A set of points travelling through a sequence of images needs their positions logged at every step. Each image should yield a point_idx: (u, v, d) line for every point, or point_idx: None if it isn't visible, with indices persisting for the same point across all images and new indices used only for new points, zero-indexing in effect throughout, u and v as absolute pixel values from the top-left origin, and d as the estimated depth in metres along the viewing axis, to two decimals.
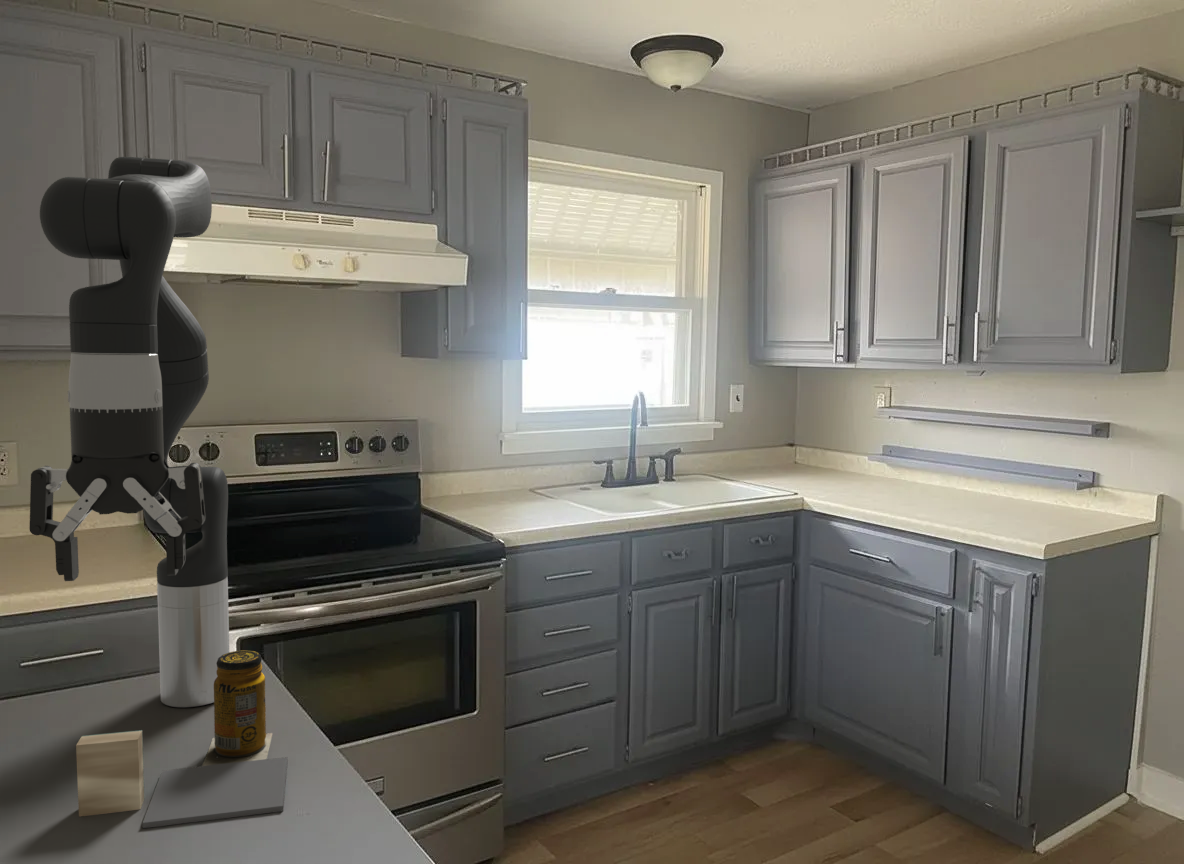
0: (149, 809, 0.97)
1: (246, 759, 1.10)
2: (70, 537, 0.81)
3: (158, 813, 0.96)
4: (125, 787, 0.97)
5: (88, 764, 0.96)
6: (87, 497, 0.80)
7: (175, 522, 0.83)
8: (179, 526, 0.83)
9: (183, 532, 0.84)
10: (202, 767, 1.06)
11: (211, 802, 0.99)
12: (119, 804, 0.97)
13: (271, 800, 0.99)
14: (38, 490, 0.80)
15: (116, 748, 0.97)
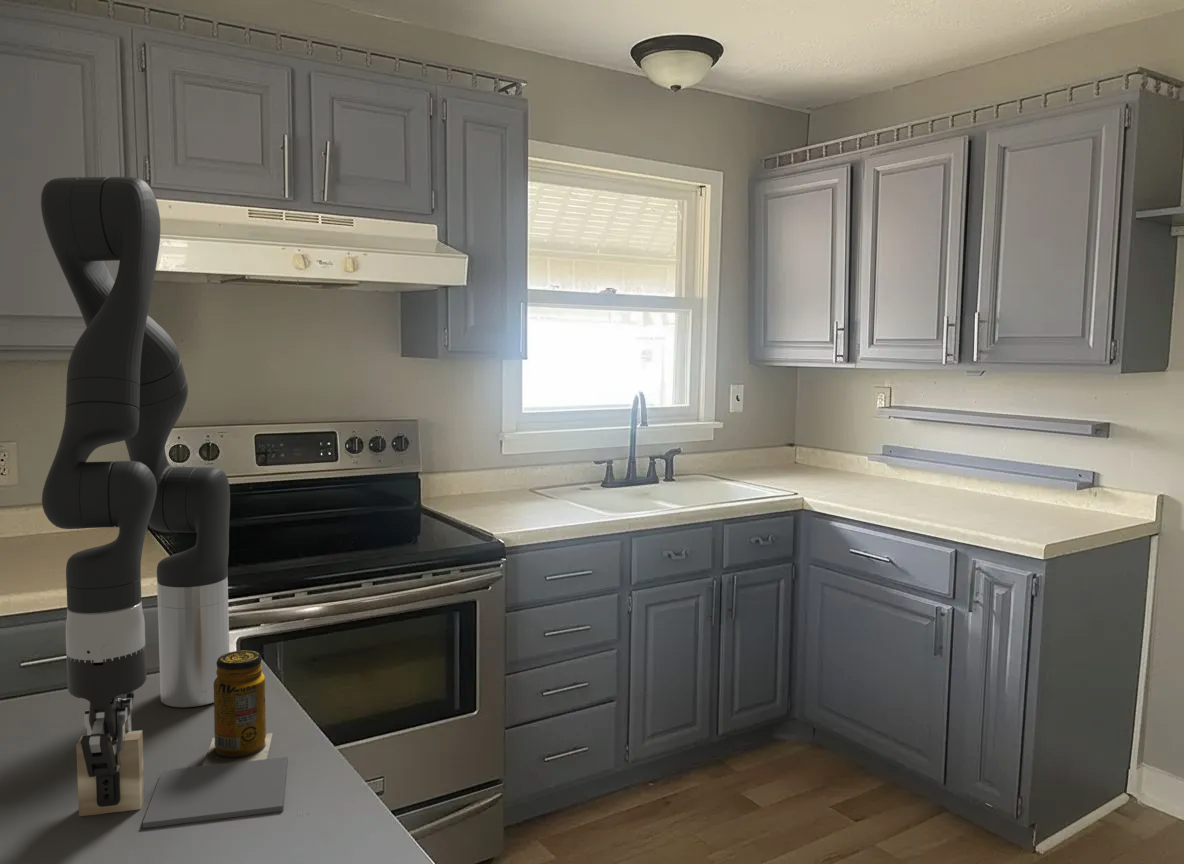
0: (149, 809, 0.97)
1: (246, 759, 1.10)
2: None
3: (158, 813, 0.96)
4: (126, 787, 0.97)
5: None
6: (123, 727, 0.96)
7: None
8: None
9: None
10: (202, 767, 1.06)
11: (211, 802, 0.99)
12: (119, 804, 0.97)
13: (271, 800, 0.99)
14: (110, 747, 0.93)
15: None
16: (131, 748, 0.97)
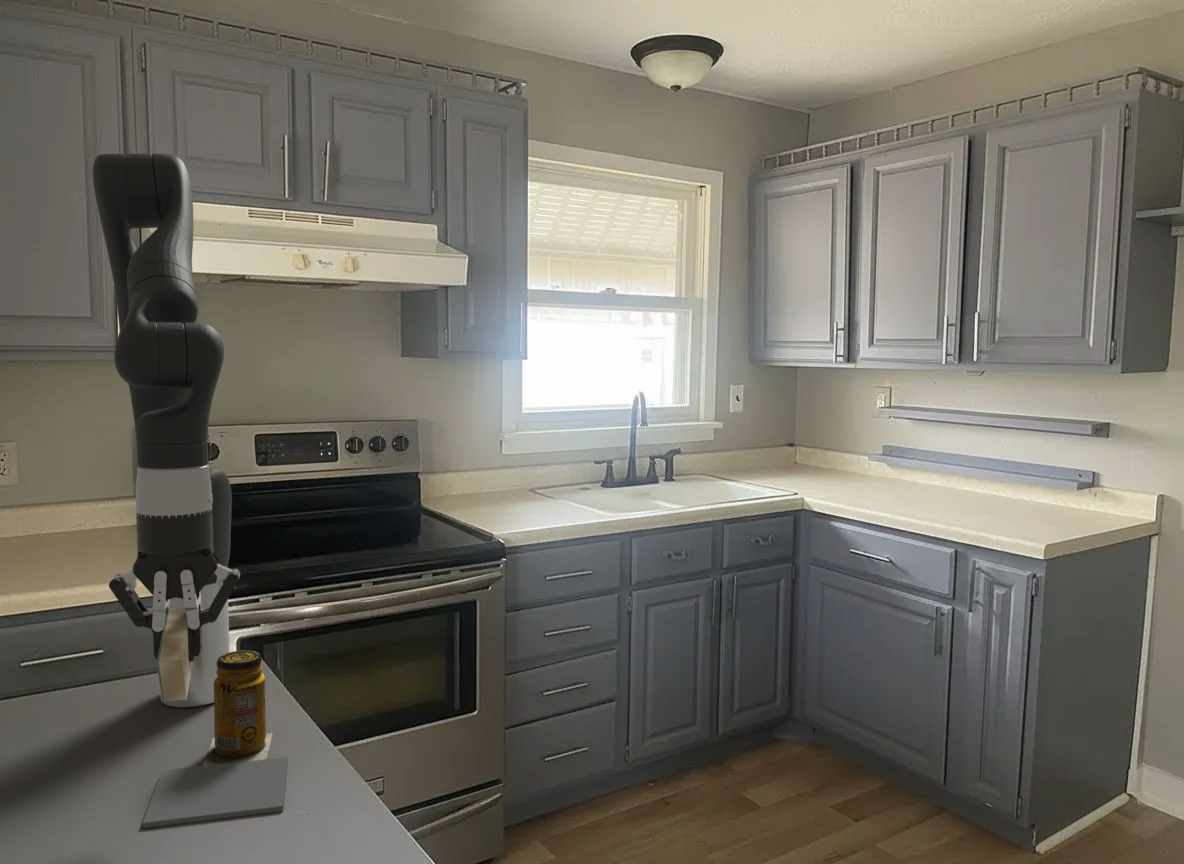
0: (149, 809, 0.97)
1: (246, 759, 1.10)
2: None
3: (158, 813, 0.96)
4: (188, 672, 0.98)
5: None
6: None
7: None
8: None
9: None
10: (202, 767, 1.06)
11: (211, 802, 0.99)
12: (185, 680, 0.97)
13: (271, 800, 0.99)
14: None
15: None
16: None
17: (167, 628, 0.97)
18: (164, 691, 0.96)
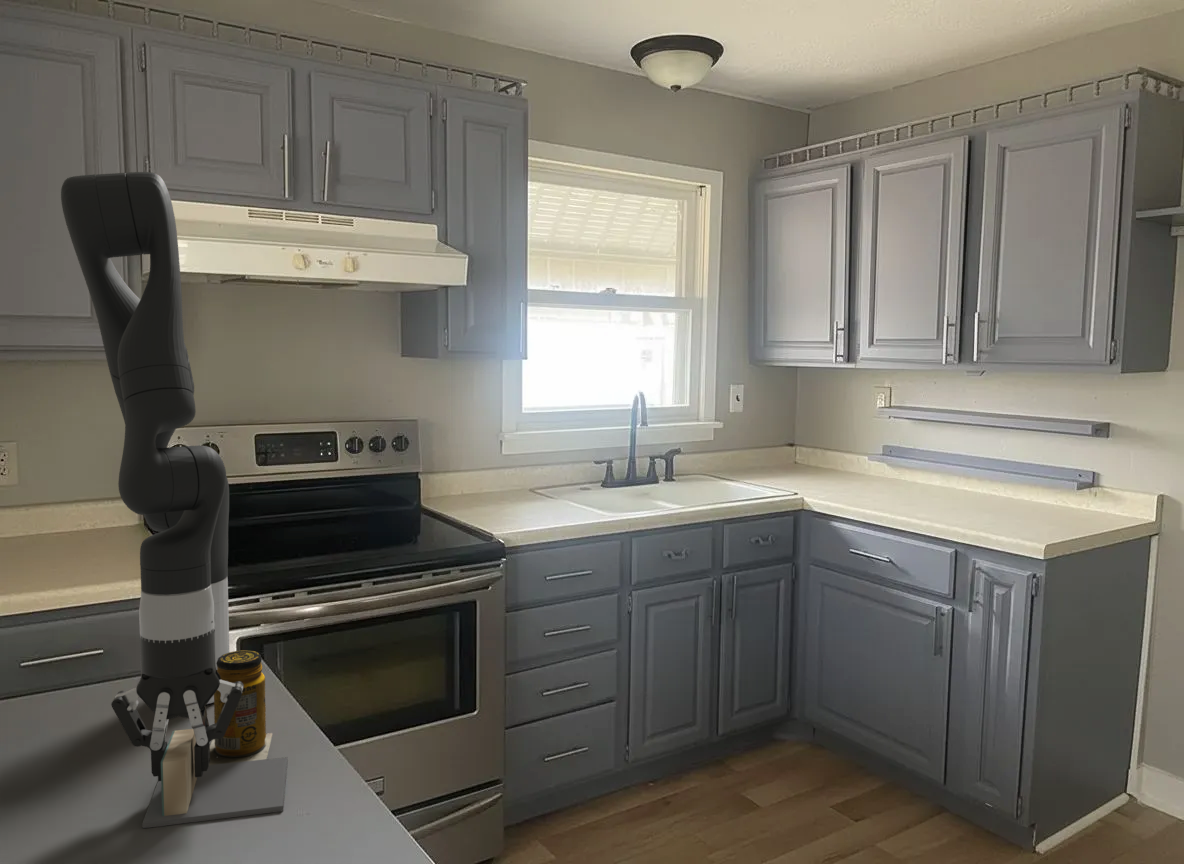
0: (149, 809, 0.97)
1: (246, 759, 1.10)
2: None
3: (158, 813, 0.96)
4: (190, 789, 0.99)
5: (193, 746, 1.01)
6: None
7: None
8: None
9: None
10: None
11: (211, 802, 0.99)
12: (187, 791, 0.97)
13: (271, 800, 0.99)
14: None
15: None
16: None
17: (172, 742, 1.00)
18: (165, 802, 0.95)
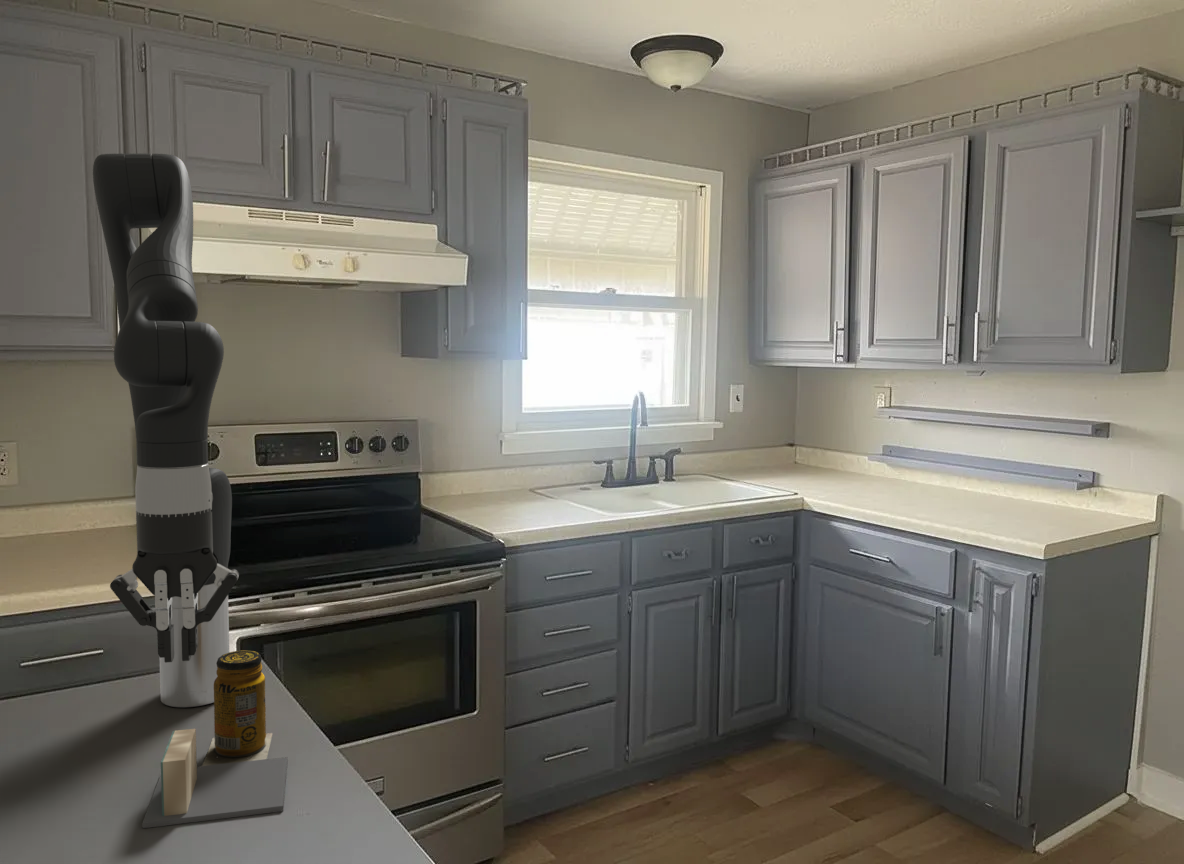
0: (149, 809, 0.97)
1: (246, 759, 1.10)
2: None
3: (158, 813, 0.96)
4: (190, 789, 0.99)
5: (193, 746, 1.01)
6: None
7: None
8: None
9: None
10: (202, 767, 1.06)
11: (211, 802, 0.99)
12: (187, 791, 0.97)
13: (271, 800, 0.99)
14: None
15: (195, 763, 1.03)
16: (195, 776, 1.03)
17: (172, 742, 1.00)
18: (165, 802, 0.95)
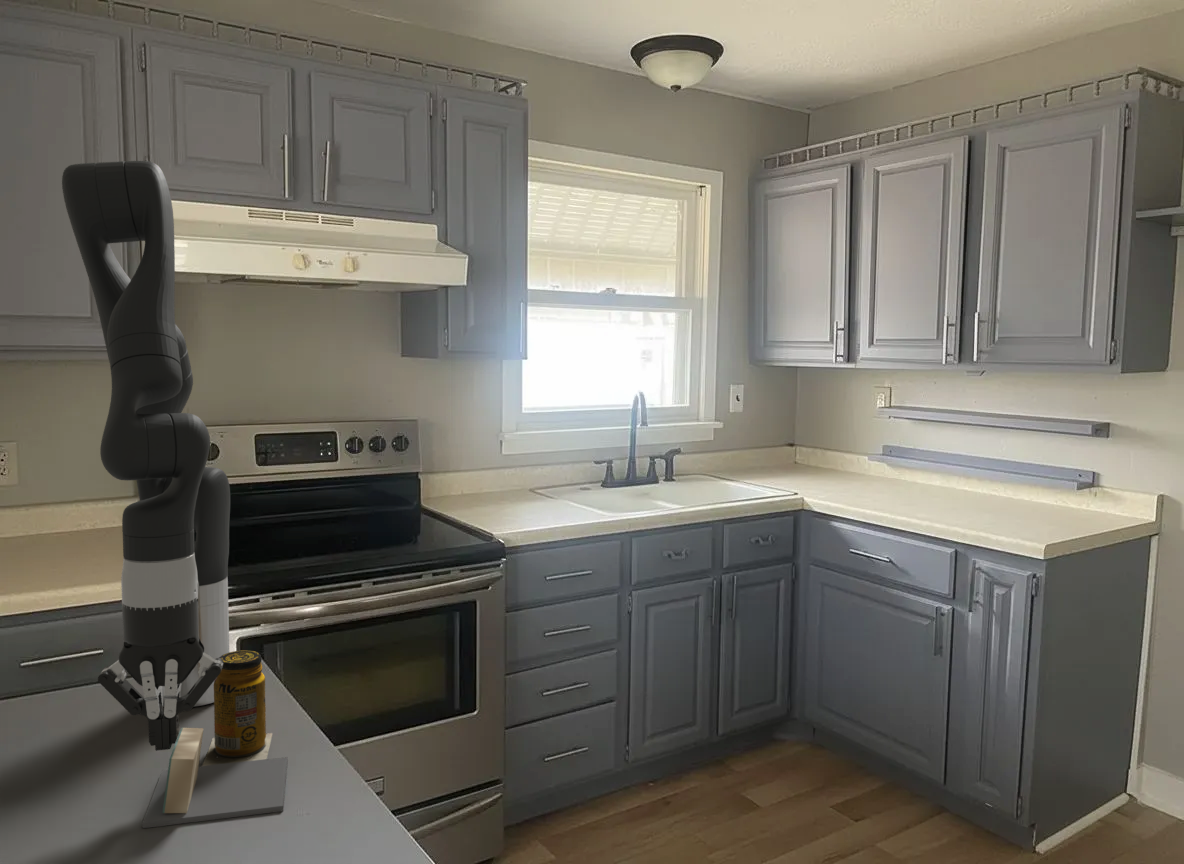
0: (149, 809, 0.97)
1: (246, 759, 1.10)
2: None
3: (158, 813, 0.96)
4: (191, 789, 0.99)
5: (199, 745, 1.01)
6: None
7: None
8: None
9: None
10: (202, 767, 1.06)
11: (211, 802, 0.99)
12: (190, 791, 0.97)
13: (271, 800, 0.99)
14: None
15: (198, 763, 1.03)
16: (196, 776, 1.03)
17: (180, 739, 1.00)
18: (167, 799, 0.96)
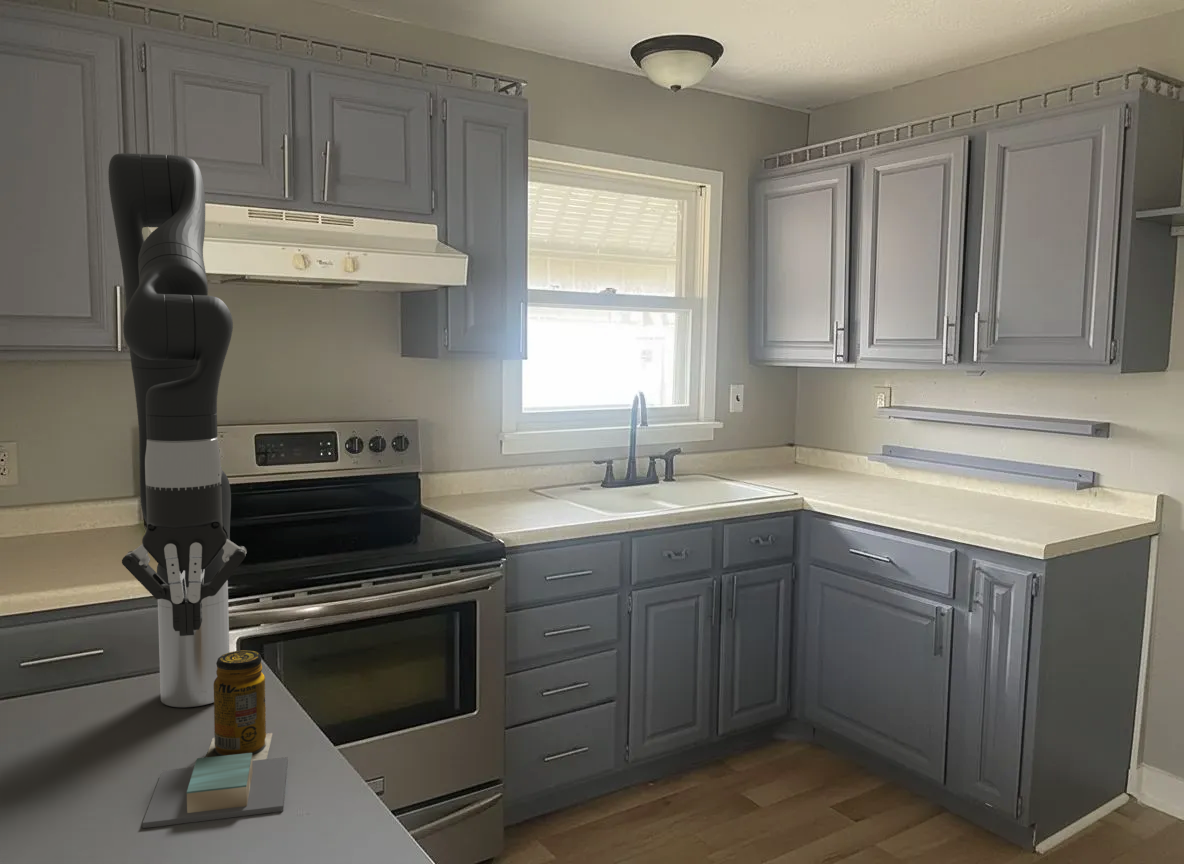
0: (149, 809, 0.97)
1: None
2: None
3: (158, 813, 0.96)
4: None
5: None
6: None
7: None
8: None
9: None
10: None
11: None
12: None
13: (271, 800, 0.99)
14: None
15: None
16: None
17: (250, 768, 1.02)
18: (202, 793, 0.96)
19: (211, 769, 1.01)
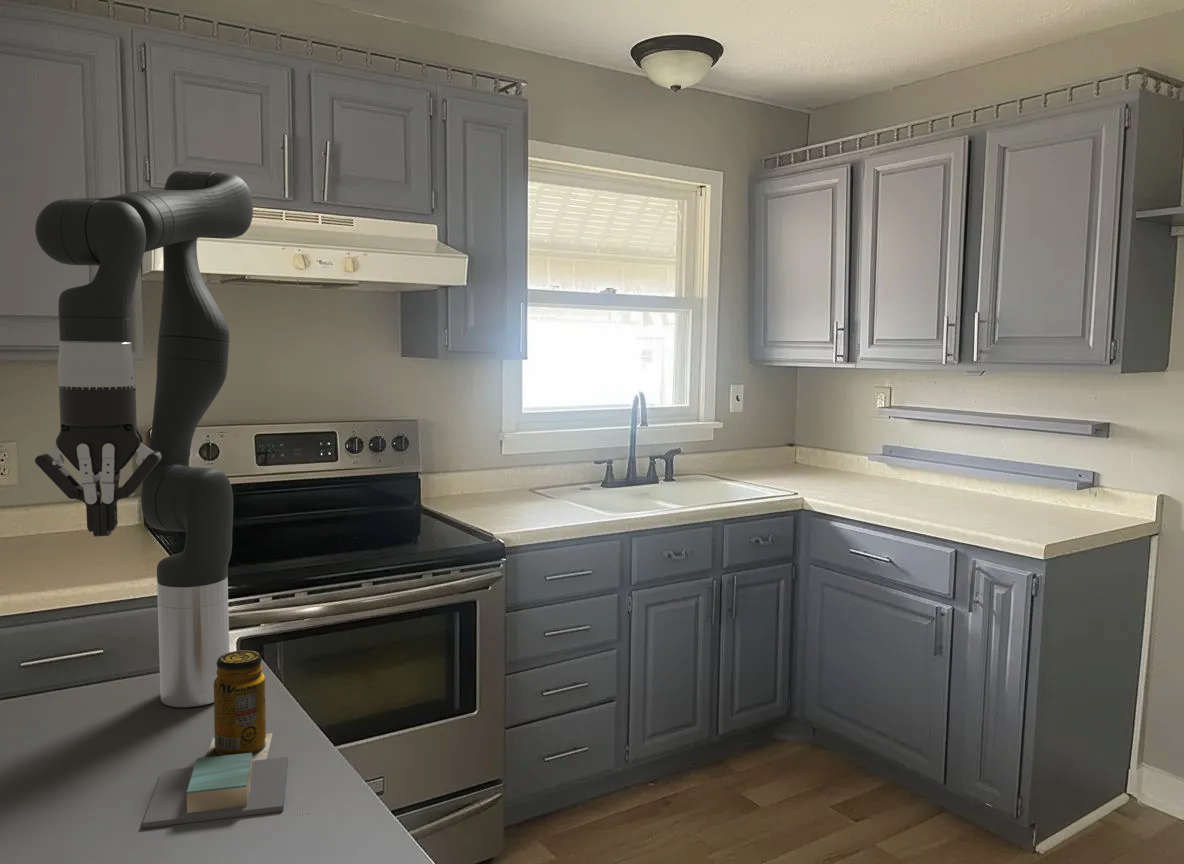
0: (149, 809, 0.97)
1: None
2: None
3: (158, 813, 0.96)
4: None
5: None
6: None
7: None
8: None
9: None
10: None
11: None
12: None
13: (271, 800, 0.99)
14: None
15: None
16: None
17: (250, 768, 1.02)
18: (202, 793, 0.96)
19: (211, 769, 1.01)
